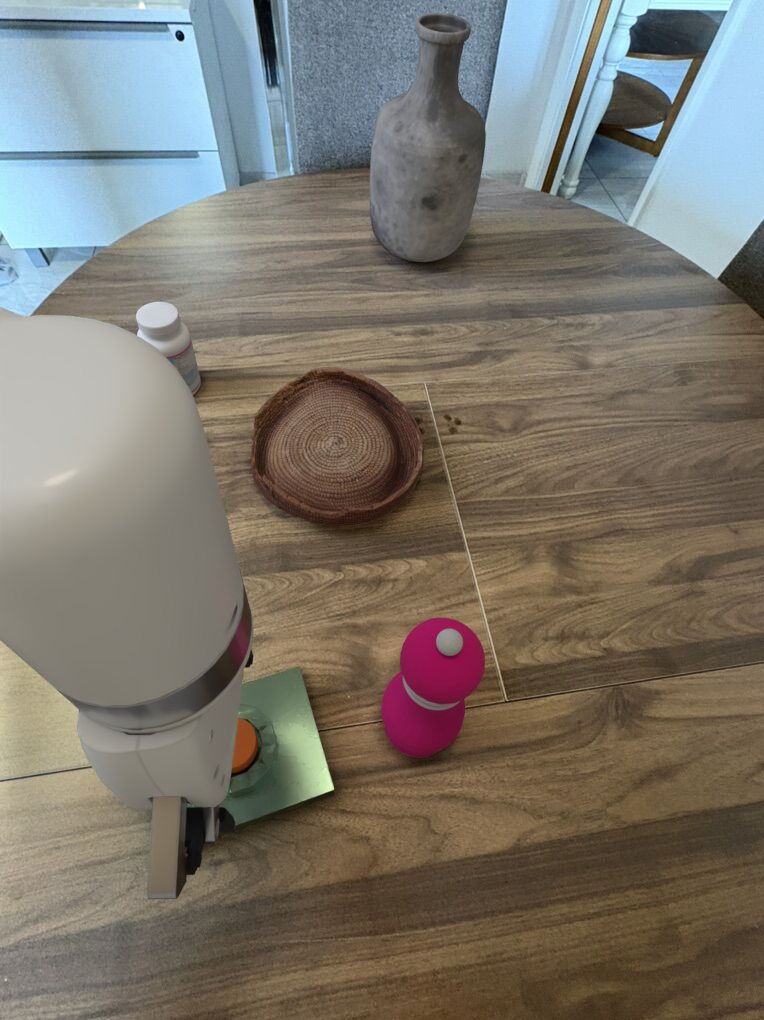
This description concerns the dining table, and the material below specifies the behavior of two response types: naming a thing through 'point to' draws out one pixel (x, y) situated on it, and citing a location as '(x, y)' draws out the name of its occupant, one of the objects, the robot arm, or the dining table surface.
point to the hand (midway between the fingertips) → (219, 738)
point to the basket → (335, 448)
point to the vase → (427, 151)
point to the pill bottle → (170, 339)
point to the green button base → (278, 753)
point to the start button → (244, 746)
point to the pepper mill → (432, 686)
